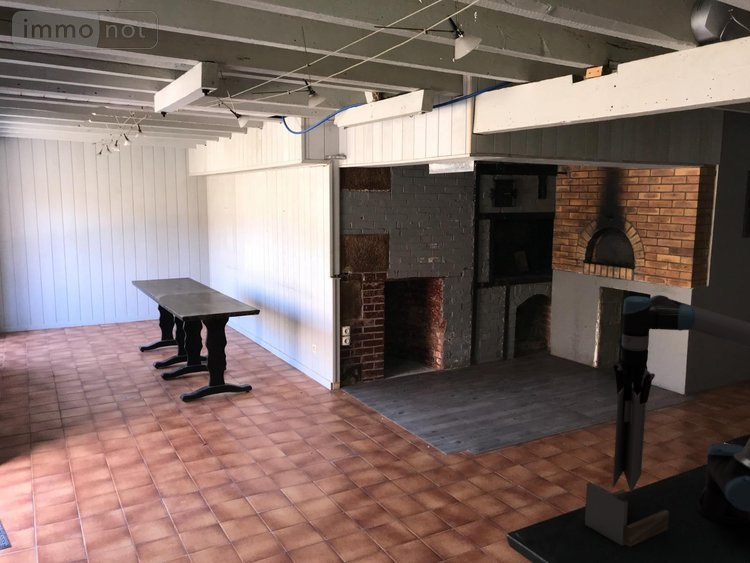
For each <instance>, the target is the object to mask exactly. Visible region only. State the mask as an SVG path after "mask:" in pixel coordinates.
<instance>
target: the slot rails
mask: <svg viewBox="0 0 750 563" xmlns="http://www.w3.org/2000/svg"><path fill="white" fill-rule="evenodd" d="M613 494H615V495H617V496H619V497H621V498H623V499H625V500H627V490H625V489H623V488H622V489H620V490H617V491H615V492H613ZM584 506H585V507H584V508H585V509H584V517H585V516H586V503H585V505H584ZM669 516H670V512H669V511H668V510H667V509H663V510H661V511H658V512H656V513H654V514H651V515H649V516H647V517H644V518H642V519H640V520H637V521H635V522H632V523H630V524H628V525H627V528H626V545H625V546H626V547H627V546H628V547H629V548H631V547H633V546H635V545H638V544H640V543H641V542H644V541H646V540H649V539H650V538H652V537H653V538H654V537H655V536H657V535H659V534H662V533H664V532H666V531H668V529H669V518H670V517H669Z"/></svg>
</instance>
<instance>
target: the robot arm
mask: <svg viewBox="0 0 750 563" xmlns="http://www.w3.org/2000/svg"><path fill="white" fill-rule="evenodd" d="M622 307H623V308H622V326H621V327H622V328H621V329H622V330H621V346H622V347H621V350H620V358H621V361H620V363H618V364H614V365H613V370H614V372H615V382H616V393H617V396H618V393H619V392H620V391H621V390H622V388H624V398H623V400H624V404H623V410H625V413H624V422H628V421H630V424H631V422H632V407H633V402H632V403H631V400H630V399H631V390H632V387H633V391H635V393H636V395H637V396H638V394H639V393H640V392H641V394H640V404H643V403H646V404H647V403H648V400H649V396H650V391H651V387H652V382H653V380H654V378H655V376H656V374H655V373H651V372H650V371H649V370H648V366H647V362H648V361H649V359H648V356H649V350H648V348H649V343H650V342H649V340H650V330H664V331H665V330H666V331H668V330H669V331H680V332H681V331H693V332H696V333H698V334H702V335H706V336H707V337H711V338H715V339H718V340H721V341H724V342H727V343H731V344H734V345H737V346H740V347H744V348H746V349H749V350H750V322H747V321H744V320H740V319H738V318H734V317H732V316H731V317H730V316H727V315H724V314H721V313H717V312H714V311H711V310H708V309H704V308H702V307H698V306H694V305H691V304H688V303H685V302H681V301H678V300H674V299H672V298H670V297H668V296H666V295H661V294H658V295H654V296H651V297H650V298H649V297H648V296H647V297H646V296H640V295H638V296H637V295H632V296H628V297H625V298H624V301H623V306H622ZM630 413H631V418H630ZM706 455H707V457H706V458H707V459H706V472H705V473H706V474H705V486H704V488H703V490H702V492H701V495H700V496H699V499H698V502H697V510H698V511H699V513H700V514H701V515H702V516H704V517H705V518H707V519H709V520H711V521H713V522H716V523H719V524H722V525H723V524H724V525H728V526H729V525H730V526H744V525H747V524H749V523H750V437H749V439H748V441H747V442H746V444H745V446H741V445H737V444H733V443H727V442H726V443H724V442H717V443H716V442H715V443H712V444H710V445H709V446H708V448H707V452H706Z"/></svg>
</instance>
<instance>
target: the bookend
mask: <svg viewBox="0 0 750 563" xmlns="http://www.w3.org/2000/svg"><path fill="white" fill-rule="evenodd" d="M585 491H586V492H585V493H586V495H585V496H586V497H585V504H586V516H585V515H584V525H585V526H587V527H589V528H590V529H592V530H593V531H595V532H597V533H599V534H601V535H603V536H604V537H606V538H608V539H609V540H611V541H613V542H615V543H616V544H617V545H620V546H621V547H623V546H627V545H626V528H627V526H628V525H627V523H628V508H629V507H628V506H629V501H628V500H627V499H626V500H625V499H623V498H621V497H619V496H617V495H615V494H613V493H614V492H613V493H612V492H611V491H609V490H606V489H604V488H602V487H600V486H599V485H596V483H594V482H593V483H592V482H590V481H589V482H586V490H585Z"/></svg>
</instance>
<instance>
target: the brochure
mask: <svg viewBox="0 0 750 563" xmlns="http://www.w3.org/2000/svg"><path fill="white" fill-rule="evenodd" d="M640 394H641V392H640V393H639V394H638V396H637V395H636V393H635V391H633V386H632V390H631V399H630V400H631V403H632V402H633V407H632V422H631V424H630V421H628V422H624V413H625V410H623V404H624V400H623V398H624V388H622V390H621V391H620V392H619V393H618V395H617V404H616V419H615V420H616V424H615V438H614V440H615V441H614V455H613V456H614V458H613V460H614V461H613V473H612V476H613V477H612V489H614V488H615V486H616V485H617V482H618V481H619V479H620V478H621V476H622V475H624V478H625V480H626V482H627V486H628V488H629V492H630V493H632V492H633V490H634V489H635V487H636V485H637V483H638V481H639V480H640V477H641V476H642V466H643V451H644V437H645V436H644V434H645V420H646V406H647V402H646V403H643V404H640ZM630 418H631V413H630Z"/></svg>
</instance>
